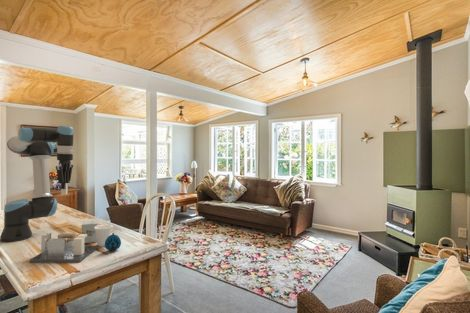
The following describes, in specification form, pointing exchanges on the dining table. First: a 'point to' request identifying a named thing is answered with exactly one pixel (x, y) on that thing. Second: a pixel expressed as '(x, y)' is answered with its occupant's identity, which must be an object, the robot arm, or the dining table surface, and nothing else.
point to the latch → (79, 244)
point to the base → (64, 258)
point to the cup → (102, 233)
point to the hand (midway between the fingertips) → (64, 194)
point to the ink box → (89, 230)
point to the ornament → (112, 242)
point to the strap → (66, 238)
